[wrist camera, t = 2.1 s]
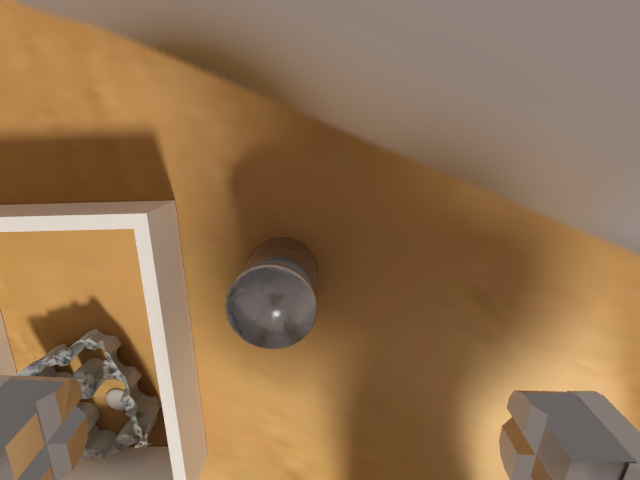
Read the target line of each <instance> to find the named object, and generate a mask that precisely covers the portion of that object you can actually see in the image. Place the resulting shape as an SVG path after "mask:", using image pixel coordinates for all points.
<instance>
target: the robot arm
mask: <svg viewBox="0 0 640 480" xmlns="http://www.w3.org/2000/svg"><path fill="white" fill-rule="evenodd" d="M82 397H83V395H82V391H81V387H80V383H79V381H77V380H75V379H73V378H59V377H40V376H20V375H19V376H11V375H0V480H60V479H62V478H63V477H65V476H66V475H68V474H69V473H71V472H72V471H73V469H74V468H75V466H76V465H77V463H78V462H79V460H80V458H81V457H82V454H83V451H84V448H85V445H86V442H87V439H88V421H87V416H86V415H85V414H84V413H83V412H82V411H81V410H80V409H79V408H78V407H77V406H76V405H77V404H78V402H79V401H80V399H81V398H82ZM507 409H508V410H509V412H510V414H511V415H512V418H511V419H510V420H508V421H507V422H506V423H505V424H504V425H503V426H502V429H501V434H500V439H499V443H500V454H501V458H502V462H503V465H504V468H505V470H506V472H507V474H508V476H509V478H510V480H640V432H639V431H638V430H637V429H636V428H635V427H634V426H633V425H632V424H631V423H630V422H629V421H628V420H627V419H626V418H625V417H624V416H623V415H622V414H621V413H620V412H619V411H618V410H617V409H616V408H615V407H614V406H613V405H612V404H611V403H610V402H609V401H608V400H607V399H606V398H605V397H604V396H603V395H601V394H599V393H597V392H595V391H567V392H559V391H514V392H513V393H512V394H511V396H510V397H509V401H508V405H507Z"/></svg>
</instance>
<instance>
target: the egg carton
mask: <svg viewBox="0 0 640 480" xmlns="http://www.w3.org/2000/svg"><path fill="white" fill-rule="evenodd" d="M120 346H121V343H120V341H119V339H118V338H117V337H116V336H115V335H111V336H109V335H105V334H102V333H101V332H100V331H98V330H97V329H94V330H92V331H89V332H87V334H85V335H84V336H83V337H82V338H81V339H80V340H78V341H77V342H76V343H74V344H72V345H71V346H70V347H68V346H66V345H65V344H61V345H58V346H56V347H55V348H53V349H52V350H51V351H50V352H48V353H47V354H46V355H45V356H44V357H42V358H41V359H39V360H38V361H35V362H33V363H32V364H30V365H29V366H27V367H26V368H24V369H23V370H21V371H20V372H19V373H17V374H16V375H15V376H19V375H20V376H40V377H59V378H73V379H75V380H77V381H79V383H80V387H81V391H82V395H83V397H82V398H81V399H87V398H89V399H90V398H91V397H92V396H93V395H94V393H95V392H96V391H97V389H98V388H99V387H100V386H101V385H102V384H103V382H104V381H105V380H109V379H116V380H118V381H124V383H125V386H126V388H125V391H124V390H122V389H119V388H114V389H111V390H110V391H108V393H107V394H106V402H107V405H108V406H109V407H111V408H112V409H114V410H125V415H128V416H129V417H130V418H131V419H130V420H129V421H128V422H127V423H126V424H125V426H124V427H123V428H122V430H121V431H120V433H119V434H118V435H117V434H116V433H114V432H112V431H110V430H103V431H101V430H99V428H98V427H97V426H96V424H95V423H96V422H97V421H98V419H99V417H100V412H99V409H98V408H97V407H96V406H95V405H94V404H92V403H89V402H78V404H77V405H76V406H77V407H78V408H79V409H80V410H81V411H82V412H83V413H84V414H85V415H86V416H87V421H88V439H87V442H86V445H85V448H84V451H83V454H82V457H81V458H82V459H86V460H96V459H99V458H102V459H103V458H105V457H106V456H108V455H110V454H113V453H116V454H117V453H119V452H121V451H122V450H124V449H125V448H126V447H127V446H130V445H132V444H136V445H135V447H134V448H139V447H142V446H143V447H145V448H147V447H149V446H150V445H151V444H152V443H148V442H147V440H148V439H147V436H148V435H149V433H150V432H151V431H152V429H153V427H154V425H155V424H156V422H157V420H158V417H157V412H158V411H159V408H160V407H161V403H160V401H159V400H158V398H157V397H156V396H155V397H150V396H146V395H144V394H143V393H141V392H140V391H139V389H138V387H137V382H138V380H139V379H140V378H141V376H142V374H141V373H140V372H139V371H138V370H137V369H136V368H135V367H129V366H125V365H123V364H122V363H121V362H120V361H119V360H118V358H117V355H116V352H117V349H118V347H120ZM85 347H86V348H87V349H93V350H94V351H95V350H96V349H98V348H102V349H103V351H104V352H105V353H106V355H107V358H106V359H105V361H104V360H102V359H100V358H90V359H89V360H87V361H86V362H85V363H84V364H83V365H82V366H81V367H80V368H79V369H78V370H77V371H76V372H75V373H73V374H71V373H68V372H57V371H56V370H55V368H54V367H53V365H59V366H61V367H62V366H66V365H68V364H69V362H70V361H71V360H72V359H73V358H74V357H75V356H76V355H78V354H79V353H80V352H81V351H82V350H83V349H84V348H85Z"/></svg>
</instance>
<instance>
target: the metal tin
mask: <svg viewBox="0 0 640 480" xmlns="http://www.w3.org/2000/svg"><path fill="white" fill-rule="evenodd" d="M316 284H317V265H316V261H315V259H314V257H313V255H312V253H311V252H310V251H309V249H308V248H307V247H305V246H304V245H303V244H301V243H300V242H298V241H296V240H293V239H289V238H274V239H271V240H268V241H266V242H264V243H262V244H261V245H260V246H258V247H257V248H256V250H255V251H254V252H253V254H252V255H251V257H250V259H249V260H248V262H247V264H246V265H245V267H244V269H243V270H242V272H241V274H240V275H239V276H238V277H237V278H236V279H235V280H234V282H233V284H232V285H231V287H230V289H229V291H228V294H227V297H226V314H227V318H228V321H229V323H230V325H231V326H232V328H233V330H234V331H235V332H236V333H237V334H238V335H239V336H240V337H241V338H242V339H244V340H245V341H246V342H248V343H250V344H252V345H254V346H257V347H261V348H266V349H280V348H285V347H288V346H291V345H293V344H295V343H297V342H298V341H300V340H301V339H302V338H304V337H305V336H306V334H307V333H308V332H309V331H310V329H311V327H312V325H313V323H314V320H315V316H316Z"/></svg>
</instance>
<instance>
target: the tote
mask: <svg viewBox="0 0 640 480" xmlns="http://www.w3.org/2000/svg"><path fill="white" fill-rule="evenodd" d="M100 229H134V233H135V239H136V245H137V252H138V258H139V264H140V270H141V277H142V283H143V289H144V296H145V302H146V308H147V315H148V321H149V327H150V334H151V340H152V346H153V352H154V359H155V365H156V371H157V378H158V384H159V390H160V397H161V403H162V409H163V416H164V422H165V428H166V434H167V441H168V447H147V448H145V447H139V448H134V447H126V448H125V449H124V450H122V451H121V452H119V453H117V454H116V453H113V454H110V455H108V456H106V457H105V458H103V459H102V458H99V459H96V460H86V459H82V458H80V460H79V462H78V463H77V465H76V466H75V468H74V469H73V471H72V472H71V473H69V474H68V475H66V476H65V477H63V478H62V479H60V480H199V477H200V474H201V471H202V469H203V466H204V463H205V461H206V458H207V455H208V454H207V446H206V439H205V431H204V423H203V415H202V407H201V399H200V392H199V384H198V376H197V368H196V360H195V352H194V345H193V337H192V329H191V321H190V313H189V305H188V297H187V290H186V282H185V274H184V266H183V258H182V250H181V243H180V235H179V227H178V219H177V211H176V203H175V200H169V201H130V202H92V203H54V204H15V205H0V232H19V231H59V230H100ZM16 374H17V372H16V368H15V364H14V360H13V357H12V353H11V349H10V345H9V342H8V338H7V334H6V330H5V327H4V323H3V319H2V315H1V312H0V375H11V376H15V375H16Z"/></svg>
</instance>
